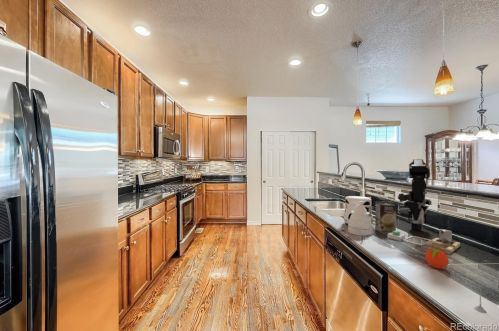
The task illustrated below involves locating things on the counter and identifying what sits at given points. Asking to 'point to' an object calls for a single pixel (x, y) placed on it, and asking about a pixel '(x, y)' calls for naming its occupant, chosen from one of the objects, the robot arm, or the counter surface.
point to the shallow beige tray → (441, 246)
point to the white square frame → (400, 237)
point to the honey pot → (360, 221)
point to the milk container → (353, 202)
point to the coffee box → (385, 217)
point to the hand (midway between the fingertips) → (417, 220)
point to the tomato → (437, 258)
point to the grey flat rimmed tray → (415, 243)
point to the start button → (396, 233)
